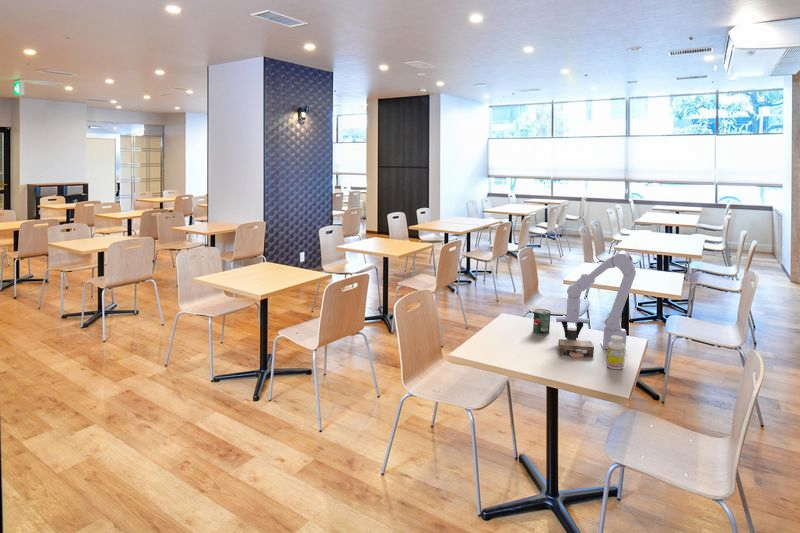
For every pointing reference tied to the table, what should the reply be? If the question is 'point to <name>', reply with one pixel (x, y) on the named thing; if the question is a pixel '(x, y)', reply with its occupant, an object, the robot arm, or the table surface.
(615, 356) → the supplement bottle
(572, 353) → the coaster
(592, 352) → the bench
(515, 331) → the table surface
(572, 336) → the grey square prism
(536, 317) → the canned tomato
